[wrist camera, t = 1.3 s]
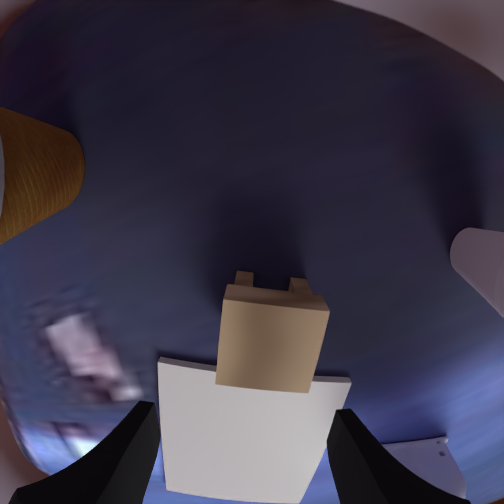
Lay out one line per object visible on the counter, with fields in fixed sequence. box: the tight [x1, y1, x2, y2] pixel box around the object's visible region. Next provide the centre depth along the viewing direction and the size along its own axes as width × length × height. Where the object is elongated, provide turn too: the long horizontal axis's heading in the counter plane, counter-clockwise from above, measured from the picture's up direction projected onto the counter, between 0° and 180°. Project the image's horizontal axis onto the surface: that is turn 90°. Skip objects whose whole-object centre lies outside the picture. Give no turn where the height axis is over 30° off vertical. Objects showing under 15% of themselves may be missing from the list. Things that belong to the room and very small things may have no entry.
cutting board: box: [158, 357, 351, 503], centre depth 26 cm, size 15×19×1 cm
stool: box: [215, 271, 330, 393], centre depth 19 cm, size 5×5×6 cm
